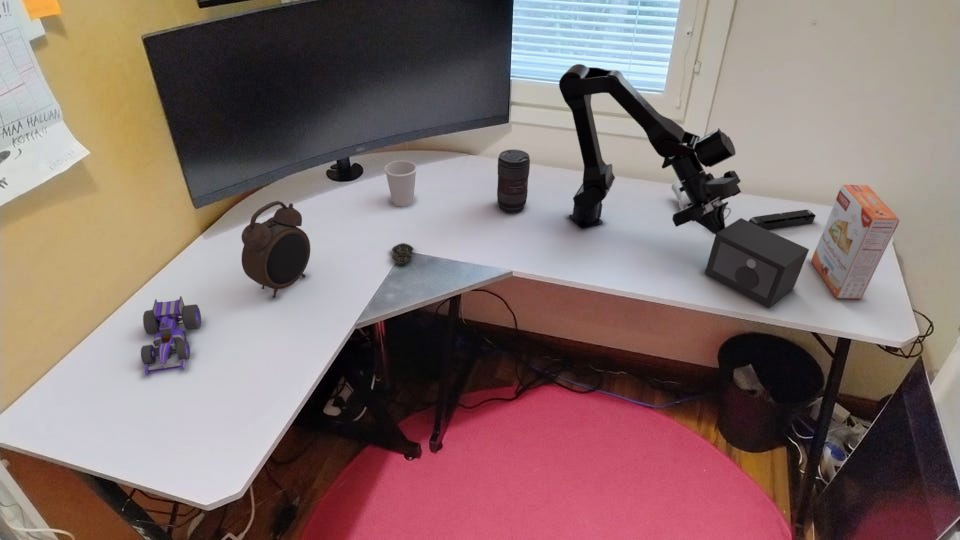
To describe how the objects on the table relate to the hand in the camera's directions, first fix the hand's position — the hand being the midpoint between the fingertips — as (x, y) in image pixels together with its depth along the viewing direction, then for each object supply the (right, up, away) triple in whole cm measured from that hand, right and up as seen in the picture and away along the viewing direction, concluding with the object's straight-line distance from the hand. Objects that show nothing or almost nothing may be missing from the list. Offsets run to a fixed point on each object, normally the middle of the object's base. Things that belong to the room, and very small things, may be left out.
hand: (723, 238), depth 139 cm
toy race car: (-115, -22, -19) cm, 119 cm away
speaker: (+5, -10, -1) cm, 11 cm away
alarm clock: (-98, -11, -3) cm, 99 cm away
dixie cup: (-76, +11, +26) cm, 81 cm away
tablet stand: (+22, +4, +19) cm, 29 cm away
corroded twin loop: (-73, -4, +6) cm, 74 cm away
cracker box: (+25, -10, 0) cm, 27 cm away
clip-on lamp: (+3, +8, +24) cm, 25 cm away
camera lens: (-47, +9, +24) cm, 54 cm away
